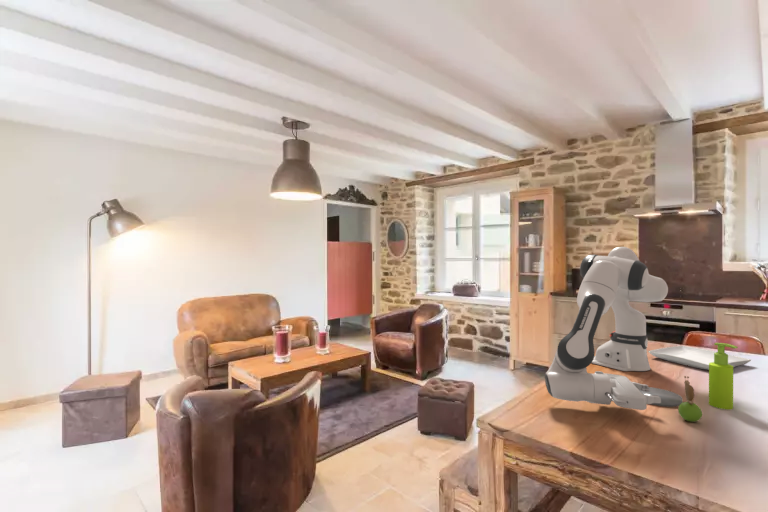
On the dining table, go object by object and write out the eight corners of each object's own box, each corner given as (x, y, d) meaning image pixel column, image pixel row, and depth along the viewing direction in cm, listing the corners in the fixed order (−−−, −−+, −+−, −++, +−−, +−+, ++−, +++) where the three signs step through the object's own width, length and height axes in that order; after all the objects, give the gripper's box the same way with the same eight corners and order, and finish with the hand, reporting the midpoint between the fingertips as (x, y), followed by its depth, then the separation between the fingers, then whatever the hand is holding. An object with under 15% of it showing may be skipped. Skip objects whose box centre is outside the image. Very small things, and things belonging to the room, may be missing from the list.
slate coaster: (625, 398, 131) (625, 393, 131) (638, 388, 141) (638, 384, 141) (677, 410, 121) (677, 405, 121) (686, 398, 130) (686, 394, 130)
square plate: (715, 375, 156) (715, 365, 156) (646, 358, 181) (646, 350, 181) (752, 367, 167) (752, 358, 167) (682, 352, 192) (682, 344, 192)
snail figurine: (697, 417, 116) (697, 377, 116) (704, 426, 110) (704, 383, 110) (675, 414, 118) (675, 374, 118) (680, 423, 112) (681, 381, 112)
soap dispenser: (732, 412, 120) (732, 346, 119) (705, 404, 126) (705, 342, 125) (740, 408, 122) (741, 344, 122) (714, 401, 128) (714, 340, 128)
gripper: (610, 390, 111) (667, 395, 107) (595, 369, 130) (642, 373, 126) (610, 412, 111) (667, 418, 107) (595, 388, 130) (642, 392, 126)
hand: (654, 393), depth 117 cm, fingers open, 8 cm apart
